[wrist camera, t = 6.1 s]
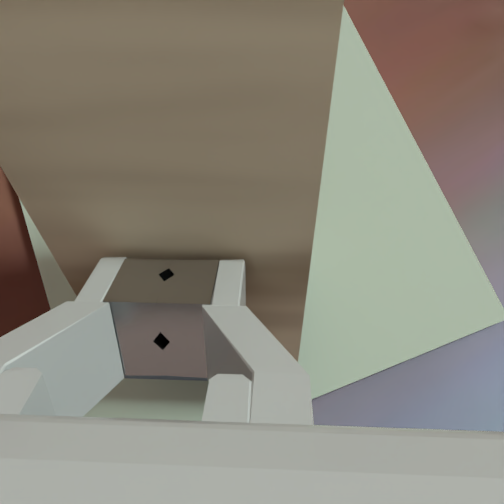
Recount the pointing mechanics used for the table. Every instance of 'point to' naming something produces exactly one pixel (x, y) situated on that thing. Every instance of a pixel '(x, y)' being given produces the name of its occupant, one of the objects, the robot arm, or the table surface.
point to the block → (173, 135)
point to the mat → (350, 256)
